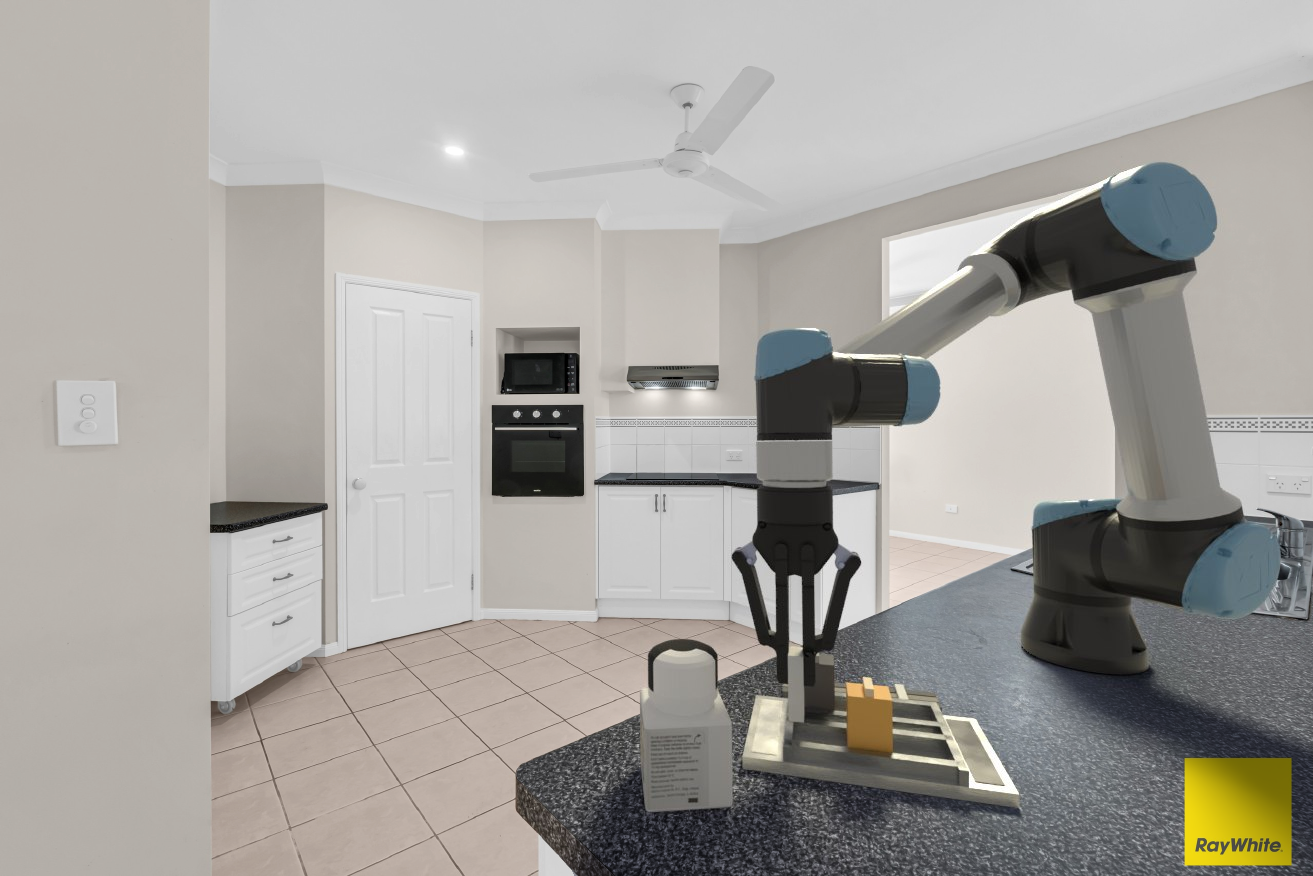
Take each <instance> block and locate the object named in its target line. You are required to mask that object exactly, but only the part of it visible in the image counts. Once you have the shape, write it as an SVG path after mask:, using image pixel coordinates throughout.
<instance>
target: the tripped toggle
mask: <svg viewBox="0 0 1313 876" xmlns="http://www.w3.org/2000/svg"><path fill="white" fill-rule="evenodd" d="M845 684H846V719H847V747H850V748H858V749H866V750H874V751H882V752H890V753H893V720H892V698H891V695H890V691H889V688H890V687H889V686H886V685H876V684H873V680H872V677H866V676H863V677H862V683H855V682H854V683H853V682H847V681H846V682H845Z"/></svg>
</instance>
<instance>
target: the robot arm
mask: <svg viewBox="0 0 1313 876" xmlns="http://www.w3.org/2000/svg"><path fill="white" fill-rule="evenodd" d="M1217 228H1218V216H1217V209H1216V205H1215V204H1214V201H1213V198H1212V196H1211V194H1210V193H1209V191H1208V189H1207V188H1206V186H1205V185H1204V183H1203V182H1202V181H1201V180H1200V179H1199V178H1198V177H1197V176H1196V175H1195V174H1192V173H1191V172H1190V171H1188V169H1186V168H1184V167H1183V166H1181V165H1178V164H1175V163H1172V162H1166V161H1165V162H1163V161H1157V162H1156V161H1155V162H1149V163H1147V164H1143V165H1141V166H1140V165H1139V166H1138V167H1135V168H1132V169H1128V170H1127V171H1123V172H1119V173H1118V174H1114V175H1111V176H1109V177H1107V179H1104V180H1101V181H1100V182H1099V181H1098V183H1095V184H1093V185H1091V186H1088V187H1086V188H1084V189H1082V190H1081V191H1077V192H1075V193H1073V194H1071V195H1069V196H1067V197H1065V198H1062V199H1061V200H1060V199H1059V200H1058V201H1056V202H1054V203H1051V204H1048V205H1046V206H1044V207H1041V208H1039V209H1037V210H1035V211H1032V212H1030V214H1028V215H1027V216H1025V217H1023V218H1021V219H1020V220H1018V221H1017V222H1016V223H1014V224H1013V225H1011V226H1009V227H1008V228H1007V229H1005V230H1004V231H1002V232H1001V233H1000V234H998V235H997V236H996V237H994V238H993V239H991V240H990V241H989V242H987V243H986V244H984V245H983V246H982V247H980V248H979V249H977V250H976V251H974V252H973V253H971V254H970V255H969V256H967V257H965V258H964V259H963V260H962V261H961V262H960V264H959V265H958V268H957V269H956V272H955V273H954V274H952V275H951V276H949V277H948V278H946V279H945V280H943V281H941V282H939V284H937V285H935V286H934V287H932V288H930V289H929V290H928V291H926V292H925V293H923V294H921V295H920V296H918V297H916V298H915V299H913V300H912V301H910V302H909V303H907V304H906V305H905V306H903V307H902V308H900V309H899V310H897V311H895V312H894V313H892V314H891V315H889V316H888V317H886V318H884V319H883V320H881V321H880V322H879V323H877V324H875V325H874V326H872V327H871V328H868V329H867V330H865V331H864V332H863V333H862V334H860V335H858V336H856V337H855V338H853V339H852V340H850V341H849V342H847V343H845V344H844V345H843V346H842V347H840V348H837V350H835V351H834V349H833V348H834V347H833V345H832V338H831V335H830V334H829V333H828V331H826V330H824V329H823V330H822V329H818V328H813V327H812V328H811V327H809V328H808V327H807V328H806V327H799V328H798V327H797V328H796V327H795V328H785V329H778V330H774V331H771V332H768V333H766V334H764V335H763V336H761V338H760V339H759V340H758V342H757V345H756V355H755V371H754V378H753V379H754V381H755V402H756V405H755V407H756V443H755V447H756V449H755V450H756V451H755V452H756V479H758V481H762V484H761V485H758V488H756V514H757V515H756V516H757V517H756V518H757V519H756V520H757V521H756V522H757V523H756V524H757V525H756V529H755V531H754V533H753V535H752V539H751V541H749V542H748V543H746V544H745V545H742V546H738V547H736V548H735V550H734V551H733V552H732V554H731V560H732V561H733V563H734V565H735V566H736V568H737V570H738V571H739V573H740V574H741V577H742V581H743V586H744V589H745V594H746V597H747V601H748V605H749V608H750V612H751V617H752V621H753V625H754V629H755V633H756V638H757V641H758V643H759V644H760V645H761V646H767V647H769V648H771V649H773V650H774V652H775V654H776V655H775V657H776V680H777V683H778V684H780V685H781V684H782V685H783V684H788V718H789V721H794V722H803V723H804V686H811V687H814V684H815V682H816V676H815V657H816V655H817V653H819V654H820V652H824V651H826V652H830V651H833V649H834V647H835V644H836V639H837V636H838V633H839V632H838V631H839V627H840V624H841V620H842V616H843V612H844V607H845V603H846V599H847V595H848V591H849V587H850V583H851V580H852V578H853V577H854V575H855V574H856V573H857V571H858V570H859V569H860V567H861V565H862V559H861V557H860V555H859V553H858V552H856V551H851V550H849V549H848V548H846V547H845V546H843V545H842V544H840V543H839V537H838V535H837V534H836V532H835V530H834V497H833V496H834V493H833V492H834V491H833V489H832V488H831V486H830V485H828V483H827V482H829V481H830V482H831V480H833V476H834V475H833V428H840V427H841V428H844V427H866V426H868V427H869V426H872V427H873V426H893V427H902V426H908V425H918V424H922V423H923V422H926V421H927V420H928V419H930V418H931V416H932V415H933V414H934V413H935V412H936V410H937V408H938V405H939V403H940V400H941V379H940V374H939V373H938V370H937V369H936V367H935V365H934V364H932V363H931V361H929V360H927V359H929V358H930V357H932V356H933V355H935V354H936V353H937V352H939V351H940V350H942V349H944V347H946V346H948V345H950V344H951V343H953V342H954V341H956V340H957V339H958V338H960V337H961V336H963V335H964V334H966V333H967V332H968V331H970V330H971V329H973V328H974V327H976V326H977V325H980V323H981V322H983V321H984V320H986V319H989V318H990V317H1000V316H1003V315H1004V316H1005V315H1006V314H1008V313H1010V312H1011V311H1012V310H1014V309H1015V308H1017V307H1019V306H1021V305H1023V304H1025V303H1028V302H1031V301H1034V300H1037V299H1041V298H1043V297H1046V296H1047V297H1048V296H1050V295H1054V294H1058V293H1062V292H1066V291H1067V292H1068V291H1071V293H1072V294H1071V295H1072V298H1073V304H1075V305H1077V306H1079V307H1081V308H1082V309H1084V310H1086V311H1088V312H1090V313H1091V316H1092V317H1091V318H1092V321H1093V327H1094V331H1095V336H1096V341H1097V346H1098V351H1099V356H1100V360H1101V365H1102V371H1103V375H1104V381H1105V384H1106V385H1105V386H1106V391H1107V396H1108V401H1109V405H1110V411H1111V415H1112V416H1111V417H1112V419H1113V420H1112V421H1113V425H1114V430H1115V435H1116V440H1117V444H1118V450H1119V455H1120V459H1121V464H1122V468H1123V475H1124V479H1125V483H1126V489H1127V495H1126V496H1125V497H1124V498H1103V499H1102V498H1101V499H1096V498H1095V499H1073V500H1071V499H1070V500H1051V501H1050V500H1049V501H1041V502H1040V503H1038V504H1037V505H1036V506H1035V507H1034V509H1033V512H1032V513H1033V516H1032V525H1031V538H1032V541H1031V543H1032V545H1031V546H1032V568H1033V569H1032V570H1033V573H1032V575H1033V598H1032V601H1031V603H1030V605H1029V607H1028V611H1027V613H1026V616H1025V619H1024V621H1023V624H1022V626H1021V629H1020V646H1021V648H1022V647H1023V648H1022V649H1023V650H1024V649H1025V650H1026V651H1027V653H1028V652H1029V653H1028V654H1030V655H1031V654H1032V655H1031V656H1033V655H1034V657H1035V656H1036V658H1037V659H1040V660H1043V661H1045V662H1048V663H1051V664H1053V665H1058V666H1061V667H1065V668H1069V669H1073V670H1077V671H1083V672H1090V673H1097V674H1098V673H1099V674H1105V675H1106V674H1107V675H1108V674H1109V675H1133V674H1141V673H1143V672H1145V671H1147V670H1148V669H1149V666H1150V665H1149V650H1148V647H1147V644H1146V642H1145V639H1144V637H1143V635H1142V632H1141V630H1140V626H1139V624H1138V622H1137V620H1136V617H1135V615H1134V612H1133V609H1132V598H1134V599H1138V600H1141V601H1146V602H1149V603H1153V604H1157V605H1159V606H1165V607H1167V608H1173V609H1175V610H1177V609H1178V610H1181V611H1185V612H1186V613H1188V614H1190V615H1198V616H1199V615H1204V616H1209V617H1213V618H1219V619H1224V620H1236V619H1237V620H1238V619H1241V618H1244V617H1246V616H1248V615H1251V614H1252V613H1253V612H1254V613H1255V612H1256V611H1257V610H1258V609H1259V608H1260V607H1261V606H1262V605H1263V604H1264V603H1266V601H1267V600H1268V598H1269V596H1270V594H1271V593H1272V591H1273V590H1274V587H1275V586H1276V583H1277V580H1278V578H1279V574H1280V570H1281V569H1280V568H1281V555H1282V554H1281V548H1280V543H1279V541H1278V538H1277V537H1276V535H1275V534H1274V533H1272V531H1271V530H1270V528H1269V527H1267V526H1265V525H1262V524H1259V523H1257V522H1256V521H1246V518H1245V514H1244V509H1243V503H1242V501H1241V499H1240V498H1239V497H1237V496H1235V495H1234V494H1233V493H1230V492H1228V491H1226V489H1224V488H1222V487H1221V484H1220V479H1219V474H1218V468H1217V462H1216V459H1215V453H1214V447H1213V441H1212V437H1211V432H1210V427H1209V422H1208V416H1207V413H1206V406H1205V400H1204V396H1203V392H1202V391H1203V390H1202V386H1201V381H1200V376H1199V375H1200V374H1199V370H1198V365H1197V360H1196V355H1195V350H1194V345H1193V339H1192V333H1191V328H1190V324H1189V319H1188V313H1187V308H1186V304H1185V303H1186V302H1185V297H1184V293H1183V292H1184V289H1185V288H1186V286H1188V285H1189V283H1190V282H1191V281H1192V280H1193V279H1194V277H1196V275H1197V274H1198V270H1197V266H1196V264H1197V263H1196V260H1195V259H1196V258H1197V257H1199V256H1200V255H1201V254H1203V253H1204V252H1206V250H1208V249H1209V248H1210V247H1211V245H1212V243H1213V242H1214V240H1215V238H1216V237H1215V234H1214V233H1215V232H1216V231H1217ZM756 552H758V553H759V555H760V556H761V558H762V559H763V560H764V562H765V563H766V564H767V566H768V567H769V569H770V570H771V571H772V572H773V573H775V574H774V575H775V576H774V577H775V578H774V579H775V580H774V582H775V631H774V630H772V629H771V624H770V621H769V615H768V612H767V608H766V604H765V601H764V600H765V599H764V595H763V591H762V588H761V583H760V580H759V577H758V572H757V568H756V566H755V564H756V562H757V560H758V558H757V555H756V554H757V553H756ZM833 555H835V559H834V565H835V568H836V569H837V571H836V574H835V576H834V581H833V585H832V590H831V593H830V598H829V601H828V606H827V610H826V614H825V618H824V623H823V626H822V630H821V633H820V634H816V619H815V618H816V616H815V615H816V613H815V612H816V608H815V607H816V606H815V605H816V604H815V602H816V601H815V594H816V593H815V576H816V575H817V574H819V573H820V572H821V571H822V569H823V568H824V566H826V564H827V562H828V561H829V560H830V559H831V558H832V556H833ZM790 576H798V577H801V616H802V617H801V619H802V620H801V623H802V630H801V631H802V646H792V645H791V646H790ZM1025 650H1024V651H1025ZM1026 651H1025V652H1026Z"/></svg>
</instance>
